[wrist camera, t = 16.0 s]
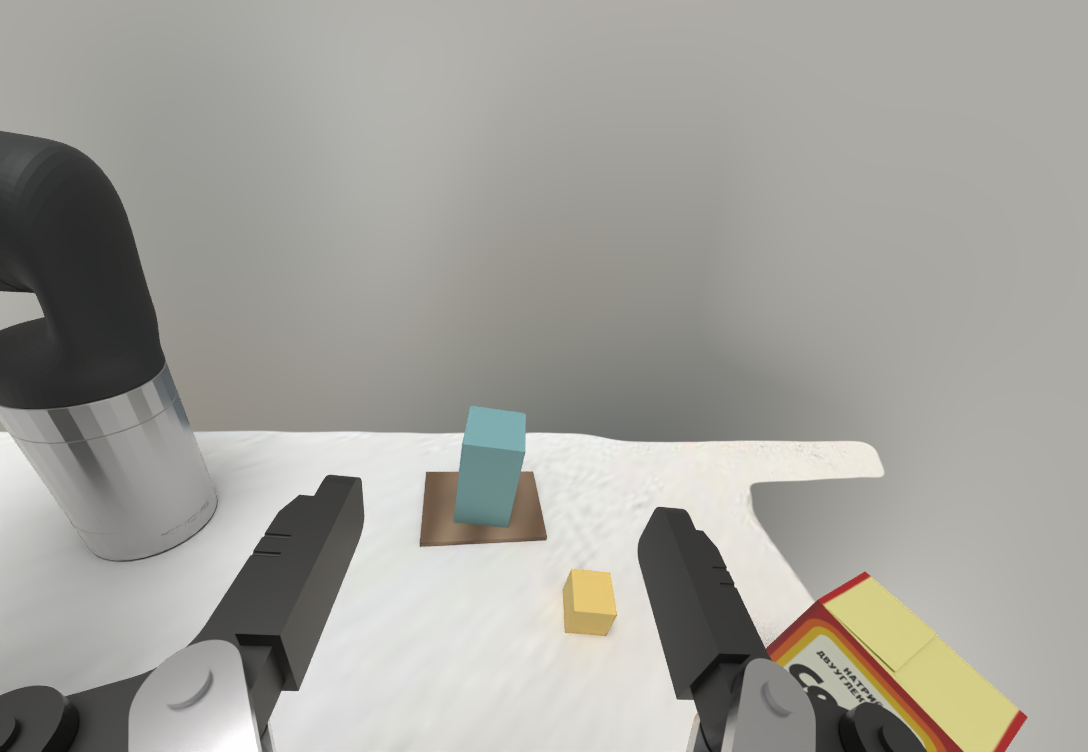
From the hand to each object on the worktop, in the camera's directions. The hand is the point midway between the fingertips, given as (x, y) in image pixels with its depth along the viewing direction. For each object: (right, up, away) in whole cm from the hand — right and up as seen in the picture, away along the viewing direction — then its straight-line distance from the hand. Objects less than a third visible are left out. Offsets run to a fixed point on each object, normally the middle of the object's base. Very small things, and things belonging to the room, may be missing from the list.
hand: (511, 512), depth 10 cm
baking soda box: (+22, -28, +22) cm, 42 cm away
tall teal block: (-6, -12, +36) cm, 38 cm away
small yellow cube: (+5, -20, +28) cm, 35 cm away
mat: (-7, -12, +36) cm, 39 cm away
